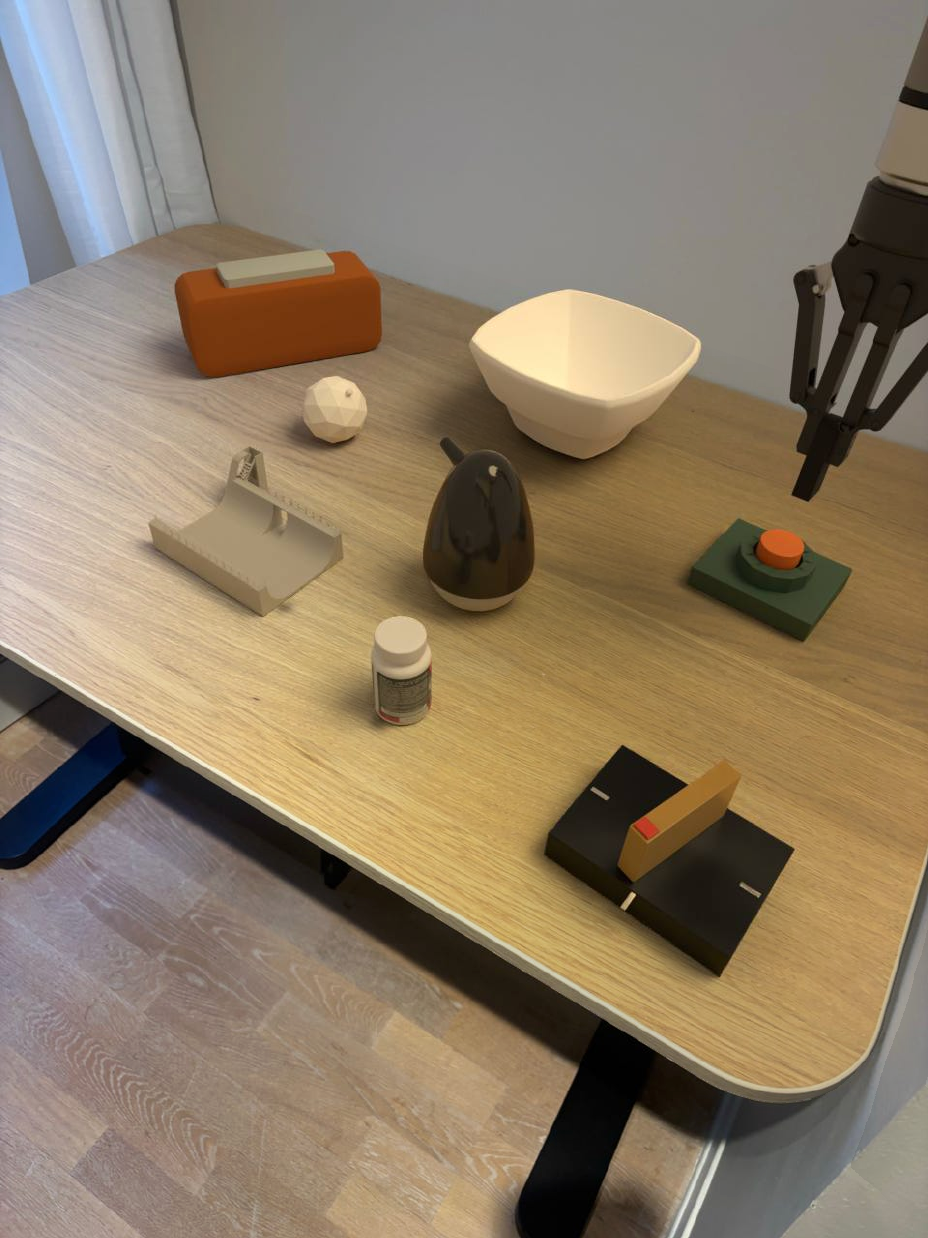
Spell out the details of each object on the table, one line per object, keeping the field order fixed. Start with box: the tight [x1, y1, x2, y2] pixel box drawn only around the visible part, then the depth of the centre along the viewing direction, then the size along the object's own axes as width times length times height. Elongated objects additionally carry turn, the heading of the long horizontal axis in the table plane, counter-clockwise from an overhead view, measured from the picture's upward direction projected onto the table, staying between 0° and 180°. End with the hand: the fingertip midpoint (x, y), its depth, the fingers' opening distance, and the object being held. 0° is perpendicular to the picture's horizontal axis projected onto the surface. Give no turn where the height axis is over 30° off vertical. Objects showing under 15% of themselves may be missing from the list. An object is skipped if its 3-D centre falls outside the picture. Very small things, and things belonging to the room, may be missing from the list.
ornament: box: [301, 375, 368, 444], centre depth 97 cm, size 7×7×8 cm
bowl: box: [468, 288, 702, 460], centre depth 98 cm, size 22×22×12 cm
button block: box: [686, 517, 853, 642], centre depth 83 cm, size 12×10×4 cm
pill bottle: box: [370, 615, 433, 726], centre depth 69 cm, size 5×5×8 cm
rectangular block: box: [618, 760, 742, 882], centre depth 59 cm, size 9×2×5 cm, turn 126°
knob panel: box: [543, 744, 796, 978], centre depth 62 cm, size 14×13×3 cm
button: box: [756, 528, 804, 570], centre depth 81 cm, size 4×4×2 cm
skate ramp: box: [147, 445, 344, 617], centre depth 84 cm, size 15×13×5 cm
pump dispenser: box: [422, 436, 536, 612], centre depth 77 cm, size 10×10×15 cm
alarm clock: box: [173, 249, 383, 378], centre depth 110 cm, size 24×8×11 cm, turn 114°
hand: (805, 492), depth 72 cm, fingers closed
